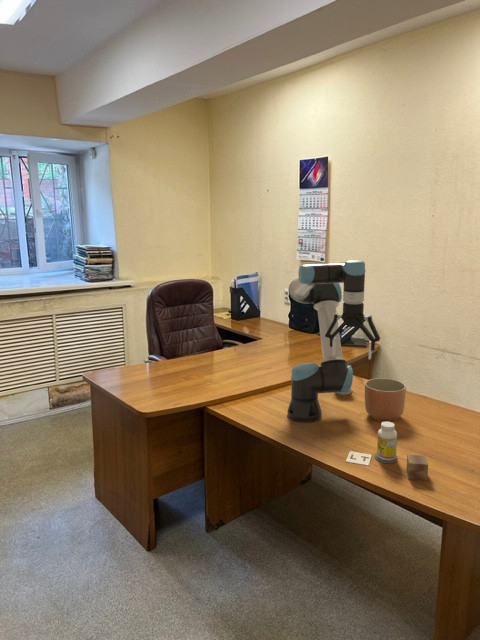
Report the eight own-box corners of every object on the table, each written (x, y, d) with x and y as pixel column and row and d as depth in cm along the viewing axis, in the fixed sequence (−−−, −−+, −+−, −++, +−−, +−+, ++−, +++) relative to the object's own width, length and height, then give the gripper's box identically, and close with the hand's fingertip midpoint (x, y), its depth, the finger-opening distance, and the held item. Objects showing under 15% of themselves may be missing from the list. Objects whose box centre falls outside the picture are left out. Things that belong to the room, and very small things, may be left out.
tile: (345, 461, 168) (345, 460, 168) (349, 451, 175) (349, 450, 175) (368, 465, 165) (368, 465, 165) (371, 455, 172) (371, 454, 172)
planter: (362, 408, 214) (363, 377, 211) (401, 410, 211) (403, 378, 207) (364, 424, 198) (365, 390, 195) (406, 427, 194) (408, 392, 191)
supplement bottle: (374, 452, 173) (375, 420, 170) (391, 451, 174) (393, 419, 171) (381, 462, 166) (382, 428, 164) (399, 460, 167) (400, 427, 164)
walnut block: (408, 479, 156) (409, 463, 155) (406, 470, 162) (407, 454, 161) (427, 481, 155) (428, 464, 153) (424, 471, 160) (425, 455, 159)
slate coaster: (373, 460, 168) (373, 459, 168) (376, 450, 175) (376, 449, 175) (396, 465, 165) (396, 464, 165) (398, 454, 172) (398, 453, 172)
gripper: (318, 302, 175) (317, 356, 180) (387, 306, 166) (384, 362, 171) (322, 298, 182) (321, 350, 187) (389, 302, 172) (386, 356, 177)
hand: (351, 356), depth 179 cm, fingers open, 13 cm apart
